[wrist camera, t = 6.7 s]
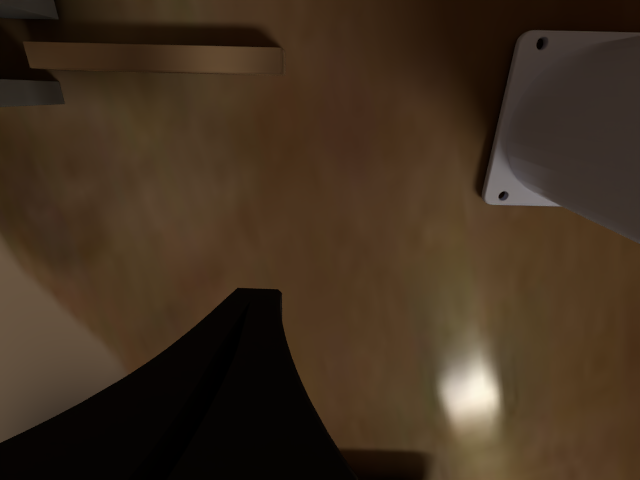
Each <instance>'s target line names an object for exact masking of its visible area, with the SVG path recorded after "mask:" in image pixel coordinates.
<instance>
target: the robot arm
mask: <svg viewBox="0 0 640 480" xmlns="http://www.w3.org/2000/svg"><path fill="white" fill-rule="evenodd" d="M539 38H541V39H542V40H543V46H542V48H541V49H540V50H538V49H537V47H536V43H537V41H538V39H539ZM503 191H505V195H504V197H502V198H500V199H499V198H498V196H499V194H500V193H501V192H503ZM482 199H483V201H485V202H486V203H488V204H491V205H529V206H562V207H564V208H566V209H568V210H570V211H572V212H575V213H577V214H579V215H581V216H583V217H585V218H587V219H589V220H591V221H593V222H595V223H598V224H600V225H602V226H604V227H606V228H608V229H610V230H612V231H614V232H616V233H618V234H621V235H623V236H625V237H627V238H629V239H631V240H633V241H635V242H637V243H639V244H640V33H635V32H593V31H551V30H532V31H528V32H525V33H523V34H522V35H521V36H520V37H519V38H518V40H517V42H516V45H515V49H514V54H513V58H512V63H511V67H510V71H509V76H508V80H507V85H506V89H505V93H504V98H503V102H502V107H501V111H500V116H499V120H498V124H497V129H496V133H495V138H494V142H493V146H492V151H491V155H490V160H489V164H488V168H487V173H486V177H485V182H484V186H483V190H482ZM0 480H359V479H358V477H357V476H356V475H355V473H354V472H353V470H352V469H351V467H350V466H349V464H348V463H347V462H346V460H345V459H344V457H343V456H342V454H341V453H340V451H339V449H338V448H337V446H336V445H335V443H334V441H333V440H332V438H331V437H330V435H329V433H328V432H327V430H326V428H325V426H324V425H323V423H322V421H321V419H320V417H319V415H318V414H317V412H316V410H315V408H314V406H313V405H312V403H311V401H310V399H309V397H308V395H307V393H306V390H305V388H304V386H303V384H302V382H301V379H300V377H299V375H298V372H297V370H296V367H295V365H294V362H293V359H292V356H291V353H290V350H289V347H288V344H287V340H286V337H285V333H284V328H283V324H282V293H281V292H280V291H279V290H278V289H253V288H237V289H236V290H235V291H234V292H233V293H231V294H230V295H229V296H228V297H227V298H226V299H225V300H224V301H223V302H222V303H220V304H219V305H218V306H217V307H216V308H215V309H214V310H213V311H212V312H211V313H210V314H208V315H207V316H206V317H205V318H204V319H203V320H201V321H200V322H199V323H198V324H197V325H196V326H195V327H193V328H192V329H191V330H190V331H189V332H187V333H186V334H185V335H184V336H182V337H181V338H180V339H179V340H177V341H176V342H175V343H173V344H172V345H171V346H170V347H168V348H167V349H166V350H164V351H163V352H162V353H160V354H159V355H157V356H156V357H155V358H153V359H152V360H150V361H149V362H147V363H146V364H144V365H143V366H141V367H140V368H138V369H137V370H135V371H134V372H132V373H131V374H129V375H128V376H126V377H124V378H123V379H121V380H119V381H118V382H116V383H114V384H112V385H111V386H109V387H107V388H106V389H104V390H102V391H100V392H99V393H97V394H95V395H93V396H92V397H90V398H88V399H87V400H85V401H83V402H82V403H80V404H78V405H76V406H74V407H72V408H70V409H68V410H66V411H64V412H62V413H61V414H59V415H57V416H55V417H53V418H51V419H49V420H47V421H45V422H43V423H41V424H39V425H37V426H35V427H33V428H31V429H29V430H27V431H25V432H23V433H21V434H18V435H16V436H14V437H12V438H10V439H8V440H6V441H3V442H1V443H0Z"/></svg>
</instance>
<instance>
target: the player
mask: <svg viewBox="0 0 640 480" xmlns="http://www.w3.org/2000/svg"><path fill="white" fill-rule="evenodd" d="M0 17H2V18H19V19H59V18H58V14H57V10H56V6H55V2H54V0H0Z"/></svg>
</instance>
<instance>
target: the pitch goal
mask: <svg viewBox="0 0 640 480" xmlns="http://www.w3.org/2000/svg"><path fill="white" fill-rule="evenodd" d="M22 42H23V41H22ZM23 45H24V48H25V52H26V55H27V58H28V62H29V65H30V68H37V69H49V70H74V71H116V72H158V73H200V74H242V75H284V76H285V51H284V50H283V49H282V48H275V47H233V46H191V45H149V44H107V43H65V42H23ZM51 104H65V103H64V99H63V95H62V92H61V88H60V84H59V82H56V81H31V80H7V79H0V107H6V106H29V105H51Z"/></svg>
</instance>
